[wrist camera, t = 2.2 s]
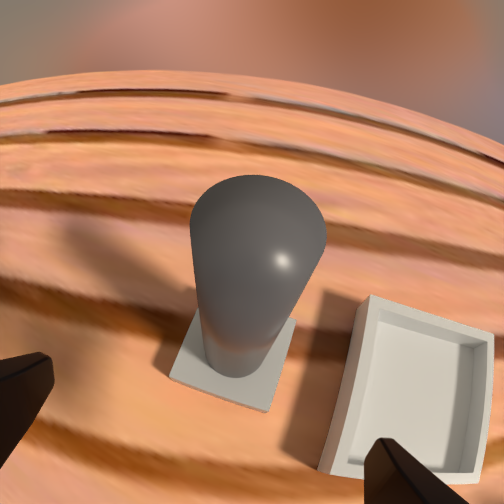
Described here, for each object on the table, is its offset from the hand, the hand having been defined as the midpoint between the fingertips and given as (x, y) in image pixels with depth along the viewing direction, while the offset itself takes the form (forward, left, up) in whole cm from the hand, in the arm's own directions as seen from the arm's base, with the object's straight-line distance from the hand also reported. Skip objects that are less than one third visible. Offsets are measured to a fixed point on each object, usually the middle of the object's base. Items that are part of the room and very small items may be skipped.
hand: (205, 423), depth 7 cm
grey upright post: (+5, 0, -12) cm, 13 cm away
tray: (+5, -13, -12) cm, 18 cm away
